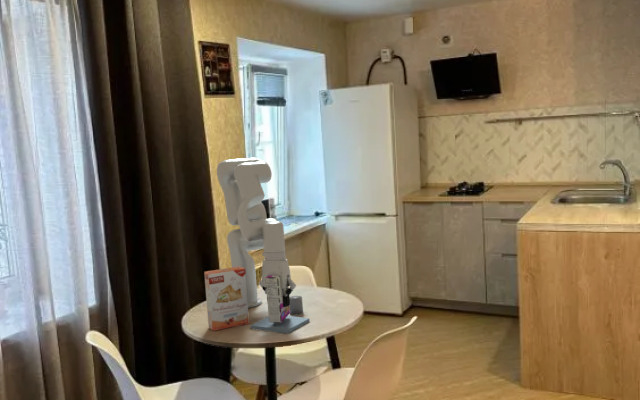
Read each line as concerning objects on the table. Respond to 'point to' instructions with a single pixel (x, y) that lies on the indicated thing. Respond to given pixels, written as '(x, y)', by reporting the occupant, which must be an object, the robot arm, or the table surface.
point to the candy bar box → (275, 300)
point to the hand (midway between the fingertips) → (278, 304)
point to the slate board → (280, 324)
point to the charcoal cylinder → (296, 305)
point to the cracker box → (226, 298)
